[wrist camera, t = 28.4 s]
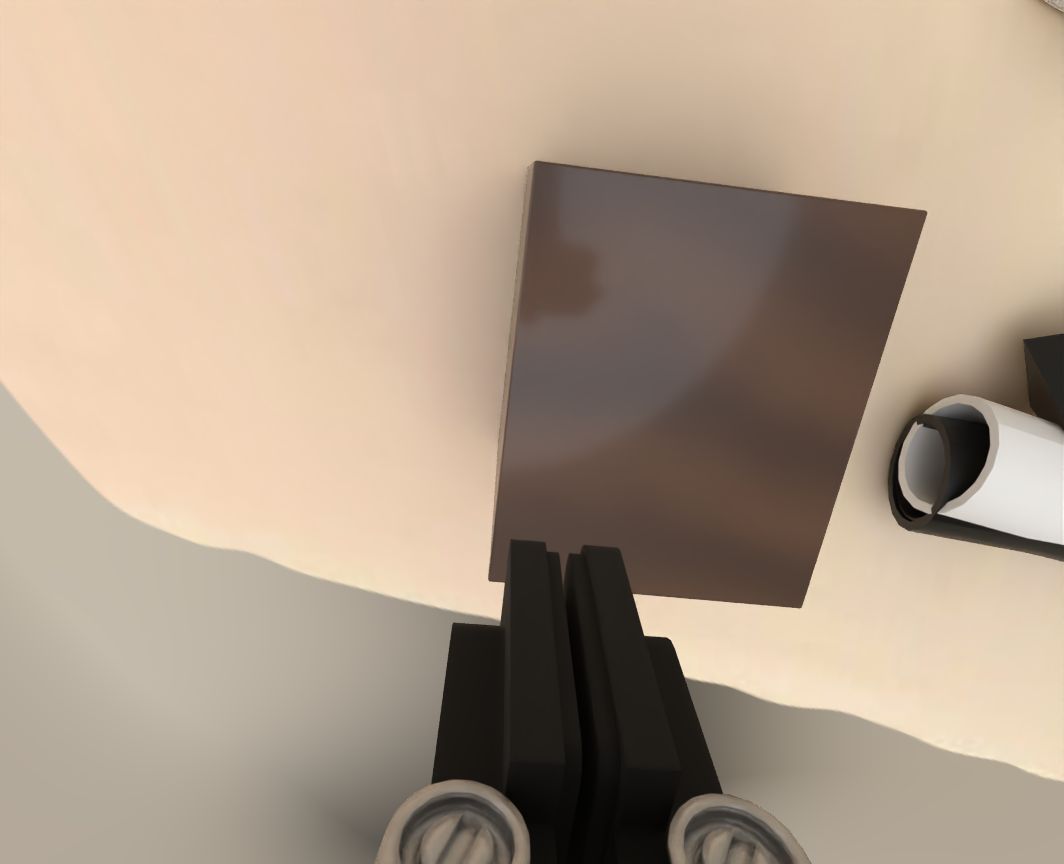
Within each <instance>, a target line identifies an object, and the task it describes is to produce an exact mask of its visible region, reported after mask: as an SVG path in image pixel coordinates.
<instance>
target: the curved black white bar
mask: <svg viewBox="0 0 1064 864" xmlns="http://www.w3.org/2000/svg"><path fill="white" fill-rule="evenodd" d="M1023 341H1024V351H1025V361H1026V371H1027V381H1028V391H1029V401H1030V407H1031V408H1032V410H1033V411H1034V412H1035V414H1036V415H1037V416H1038V417H1039V418H1038V417H1036V416H1033V415H1030V414H1027V413H1024V412H1021V411H1018V410H1015V409H1012V408H1009V407H1006V406H1003V405H1000V404H998V403H995V402H992V401H989V400H986V399H983V398H980V397H977V396H971V395H964V394H958V395H955V396H951V397H947V398H943V399H942V400H940V401H939V402H937V403H936V404H934V405H933V406H931V407H930V408H928V409H927V410H926V411H925V412H924V413H923V414H922V415H920V416H918V417H916V418H914V419H913V420H912V421H911V422H910V423H909V424H908V426H907V427H906V428H905V429H904V430H903V432H902V434H901V436H900V438H899V440H898V442H897V444H896V446H895V450H894V453H893V456H892V459H891V463H890V470H889V478H888V493H889V502H890V506H891V510H892V514H893V516H894V517H895V519H896V521H897V522H898V524H899V525H900V526H901V527H903V528H905V529H906V530H908V531H913V532H918V533H923V534H929V535H934V536H940V537H945V538H950V539H956V540H961V541H967V542H972V543H977V544H983V545H988V546H994V547H999V548H1004V549H1010V550H1015V551H1021V552H1026V553H1030V554H1034V555H1039V556H1043V557H1047V558H1051V559H1055V560H1059V561H1064V334H1059V335H1052V336H1045V337H1038V338H1032V339H1025V340H1023Z"/></svg>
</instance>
